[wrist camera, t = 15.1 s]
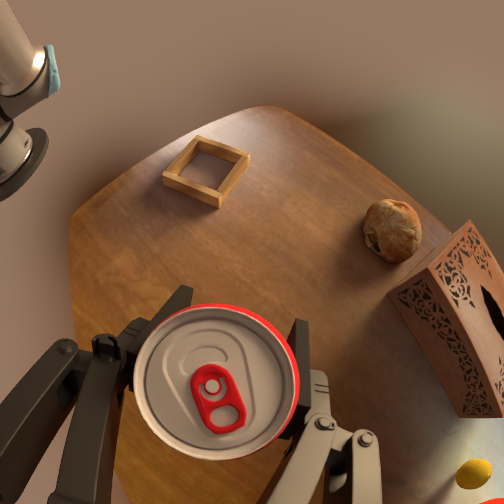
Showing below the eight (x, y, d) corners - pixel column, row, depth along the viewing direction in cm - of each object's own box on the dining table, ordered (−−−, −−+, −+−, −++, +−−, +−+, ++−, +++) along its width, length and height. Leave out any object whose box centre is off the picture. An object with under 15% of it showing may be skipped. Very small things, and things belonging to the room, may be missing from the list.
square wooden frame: (163, 184, 41) (160, 174, 39) (197, 145, 45) (196, 134, 43) (219, 208, 40) (218, 198, 37) (249, 164, 44) (250, 153, 41)
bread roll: (347, 233, 44) (351, 220, 36) (386, 193, 43) (396, 174, 35) (387, 276, 41) (400, 273, 33) (426, 234, 40) (443, 223, 32)
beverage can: (248, 326, 20) (270, 266, 9) (278, 401, 18) (340, 431, 7) (170, 351, 19) (98, 320, 8) (198, 428, 17) (158, 490, 6)
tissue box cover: (386, 293, 36) (427, 266, 27) (434, 248, 40) (470, 219, 31) (458, 417, 28) (502, 417, 18) (496, 359, 31) (535, 348, 22)
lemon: (453, 459, 24) (485, 464, 17) (472, 454, 24) (503, 457, 17) (443, 487, 22) (473, 496, 15) (462, 481, 22) (492, 488, 14)
